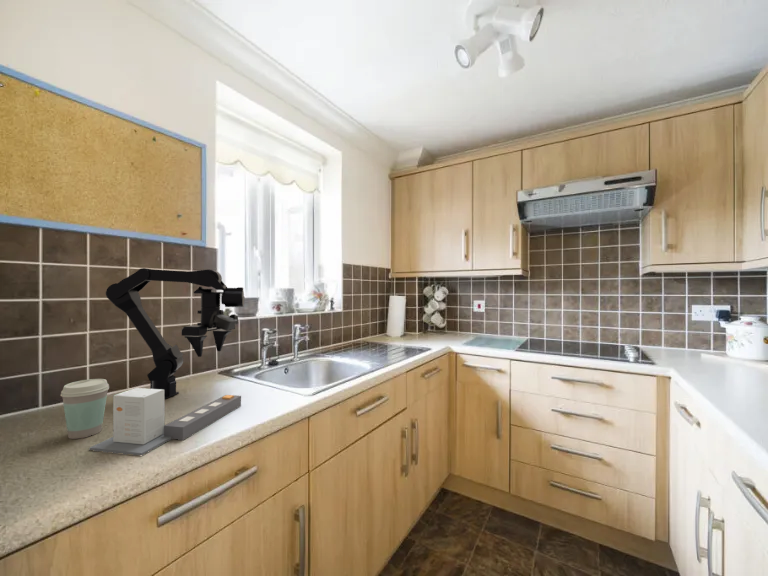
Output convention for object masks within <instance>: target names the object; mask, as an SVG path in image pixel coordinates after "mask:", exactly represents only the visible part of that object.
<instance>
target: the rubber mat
mask: <svg viewBox="0 0 768 576" xmlns="http://www.w3.org/2000/svg"><path fill="white" fill-rule="evenodd" d="M167 441H168V442H169V441H172V439H171V437H169V436H164V434H162V435H160V436H159V437H157V438H155V439H153V440H151V441H149V442H148V443H146V444H144V445H143V444H132V443H121V442H114V441H113V436H112V437H109V438H107V439H105V440H103V441H101V442H99V443H96V444H94V445H92V446H89V448H88V451H90V450H94V451H93V452H99V451H103V452H102V453H108V452H113V453H112V454H118V453H123V454H122V455H127V454H133V455H132V456H136V455H143V454H145V453H146V452H148V451H150V450H152V449H153V450H155V449H157V448H159V447H160V445H161V446H162V445H164V444H166V443H168V442H167ZM165 442H166V443H165ZM158 446H159V447H158ZM156 447H157V448H156ZM154 448H155V449H154ZM153 450H152V451H153ZM150 452H151V451H150ZM148 453H149V452H148ZM146 454H147V453H146ZM146 454H145V455H146ZM143 456H144V455H143Z"/></svg>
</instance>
